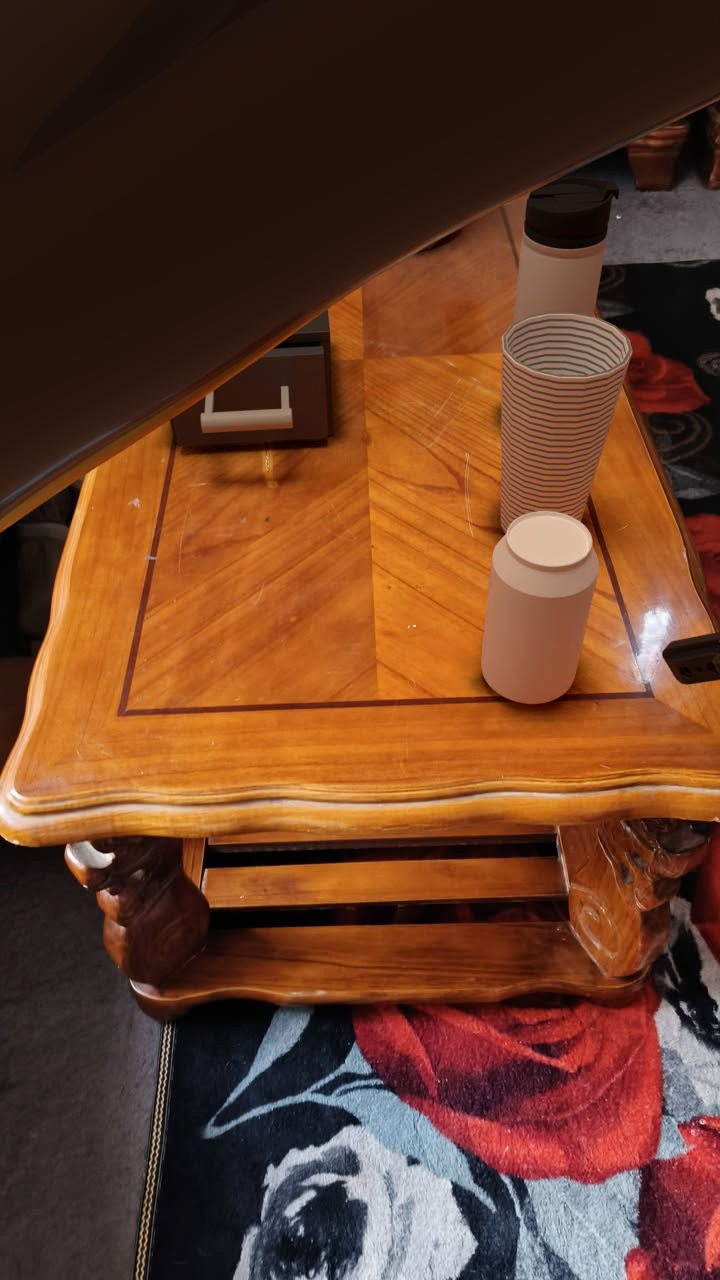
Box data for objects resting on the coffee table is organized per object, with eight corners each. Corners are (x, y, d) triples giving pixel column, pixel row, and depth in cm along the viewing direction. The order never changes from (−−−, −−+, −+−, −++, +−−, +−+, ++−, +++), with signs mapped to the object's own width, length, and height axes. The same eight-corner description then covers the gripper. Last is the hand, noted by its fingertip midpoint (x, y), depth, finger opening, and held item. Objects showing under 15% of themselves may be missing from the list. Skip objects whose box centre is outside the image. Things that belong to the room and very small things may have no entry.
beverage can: (575, 716, 61) (607, 578, 52) (477, 707, 62) (493, 570, 53) (572, 645, 65) (601, 506, 56) (481, 638, 66) (496, 500, 57)
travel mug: (583, 441, 81) (627, 202, 67) (506, 442, 82) (532, 203, 67) (573, 401, 86) (612, 167, 71) (499, 401, 86) (523, 169, 71)
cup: (575, 486, 77) (608, 306, 66) (609, 555, 71) (651, 370, 60) (472, 497, 76) (488, 316, 65) (498, 568, 71) (520, 383, 59)
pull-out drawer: (331, 473, 77) (327, 387, 72) (175, 482, 77) (158, 396, 71) (321, 354, 90) (316, 273, 84) (187, 361, 90) (173, 281, 84)
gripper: (1073, 380, 40) (738, 493, 53) (959, 557, 32) (605, 635, 46) (1144, 532, 41) (800, 603, 55) (1051, 734, 34) (681, 758, 47)
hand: (711, 618), depth 50 cm, fingers open, 8 cm apart
